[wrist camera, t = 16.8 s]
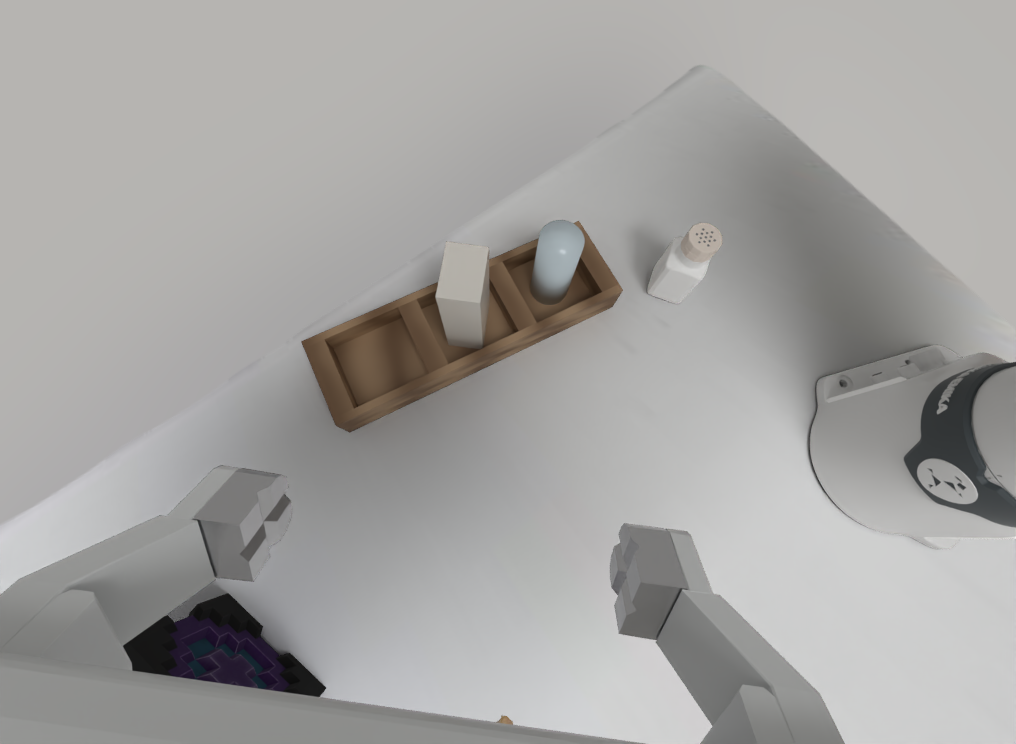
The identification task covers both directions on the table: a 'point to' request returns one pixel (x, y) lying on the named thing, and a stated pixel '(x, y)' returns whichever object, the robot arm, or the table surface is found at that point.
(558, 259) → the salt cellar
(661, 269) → the pepper shaker
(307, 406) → the table surface
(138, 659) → the energy cube
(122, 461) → the table surface
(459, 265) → the clay block
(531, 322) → the rack
